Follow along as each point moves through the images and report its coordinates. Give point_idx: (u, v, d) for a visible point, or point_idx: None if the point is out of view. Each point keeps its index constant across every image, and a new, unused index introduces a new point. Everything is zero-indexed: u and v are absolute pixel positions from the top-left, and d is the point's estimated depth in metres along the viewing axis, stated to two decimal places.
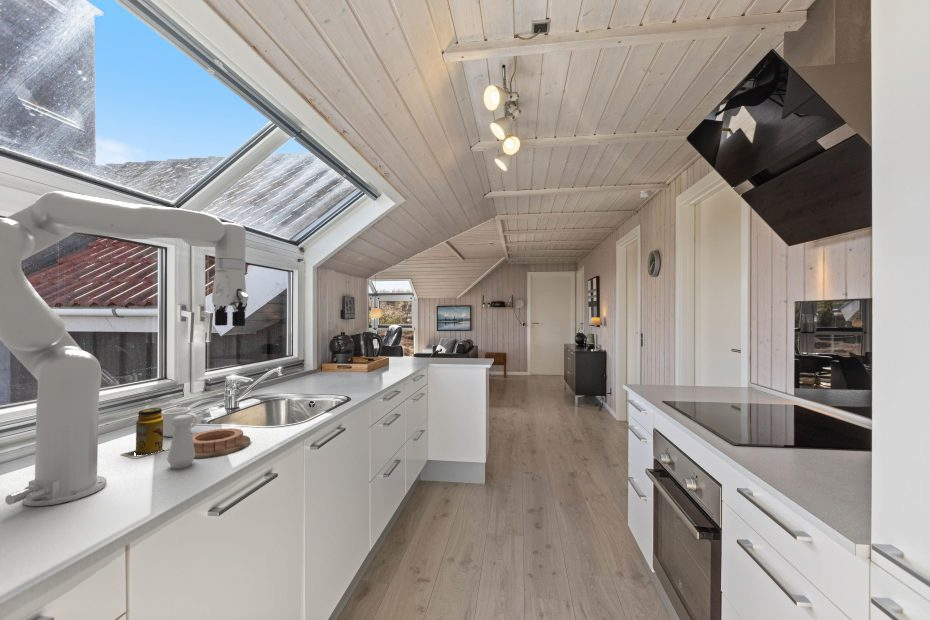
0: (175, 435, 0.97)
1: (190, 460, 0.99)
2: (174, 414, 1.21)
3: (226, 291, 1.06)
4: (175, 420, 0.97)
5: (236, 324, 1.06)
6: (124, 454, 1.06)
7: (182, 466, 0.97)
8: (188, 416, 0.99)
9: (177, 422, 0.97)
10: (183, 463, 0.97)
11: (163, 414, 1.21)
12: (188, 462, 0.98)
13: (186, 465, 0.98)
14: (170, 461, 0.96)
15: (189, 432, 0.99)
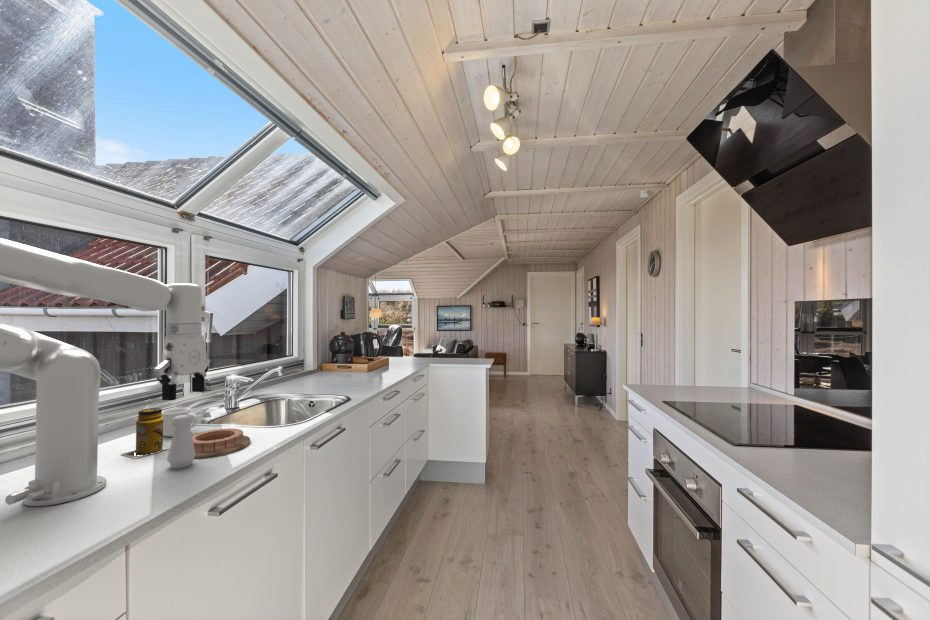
0: (175, 435, 0.97)
1: (190, 460, 0.99)
2: (174, 414, 1.21)
3: (204, 357, 1.03)
4: (175, 420, 0.97)
5: None
6: (124, 454, 1.06)
7: (182, 466, 0.97)
8: (188, 416, 0.99)
9: (177, 422, 0.97)
10: (183, 463, 0.97)
11: (163, 414, 1.21)
12: (188, 462, 0.98)
13: (186, 465, 0.98)
14: (170, 461, 0.96)
15: (189, 432, 0.99)
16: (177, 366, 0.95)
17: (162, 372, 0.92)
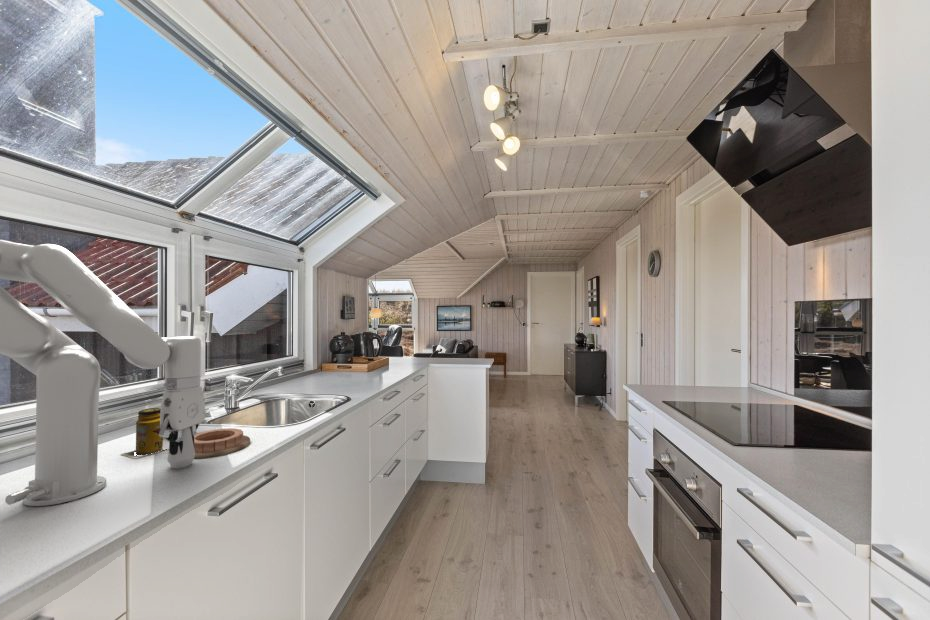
0: None
1: (190, 460, 0.99)
2: None
3: (202, 408, 1.03)
4: None
5: None
6: (124, 454, 1.06)
7: (182, 466, 0.97)
8: None
9: None
10: (183, 463, 0.97)
11: None
12: (188, 462, 0.98)
13: (186, 465, 0.98)
14: (170, 461, 0.96)
15: (189, 432, 0.99)
16: (175, 422, 0.94)
17: (168, 434, 0.94)
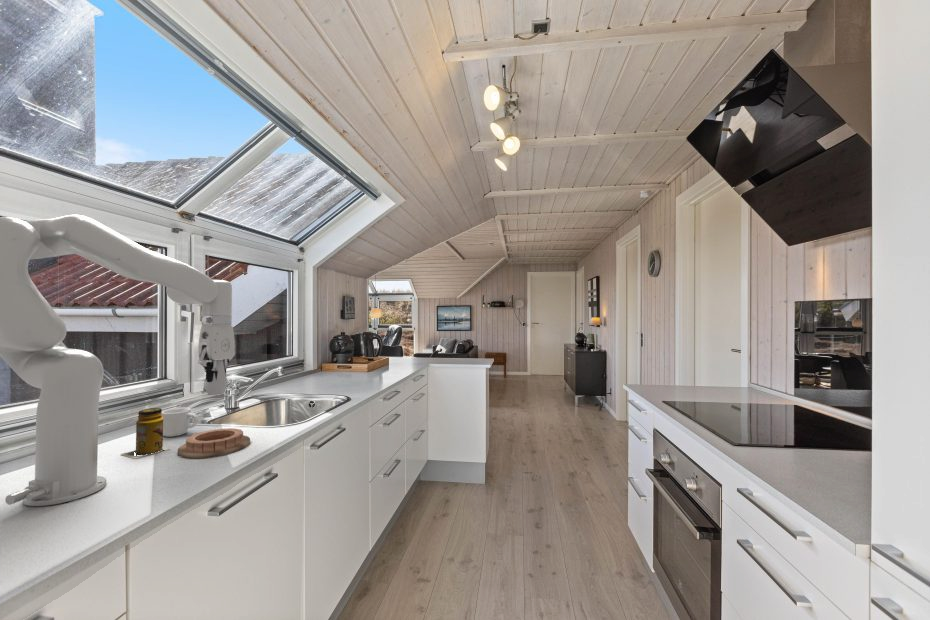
0: None
1: (223, 388, 1.13)
2: (174, 414, 1.21)
3: (233, 345, 1.17)
4: None
5: None
6: (124, 454, 1.06)
7: (217, 393, 1.11)
8: None
9: None
10: (218, 390, 1.11)
11: (163, 414, 1.21)
12: (222, 390, 1.12)
13: (220, 392, 1.12)
14: (207, 388, 1.10)
15: (222, 364, 1.13)
16: (211, 352, 1.08)
17: (205, 362, 1.08)
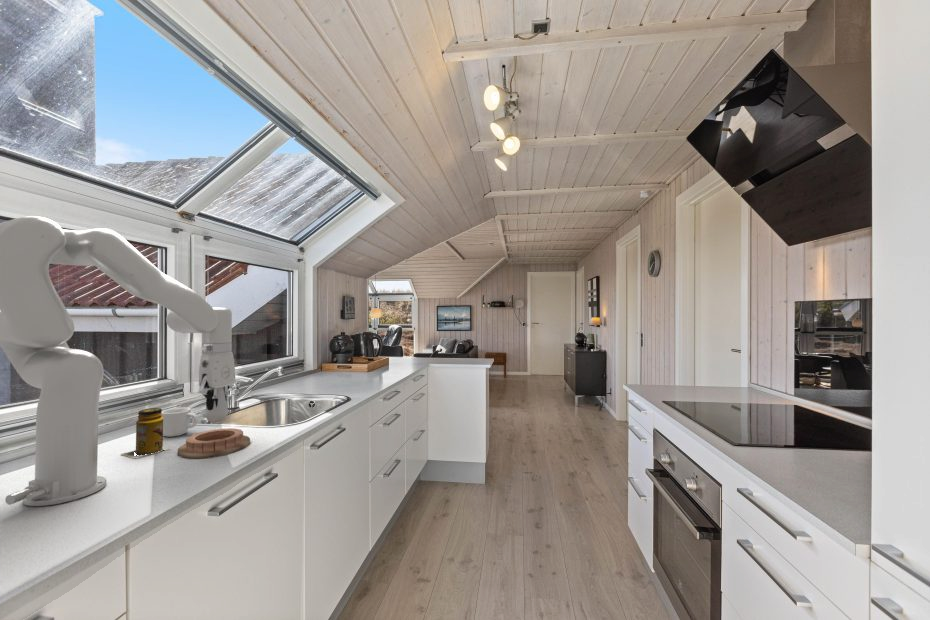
0: None
1: (224, 415, 1.13)
2: (174, 414, 1.21)
3: (233, 372, 1.17)
4: None
5: None
6: (124, 454, 1.06)
7: (217, 420, 1.12)
8: None
9: None
10: (218, 418, 1.11)
11: (163, 414, 1.21)
12: (222, 417, 1.12)
13: (220, 420, 1.12)
14: (207, 416, 1.10)
15: (222, 391, 1.14)
16: (212, 381, 1.08)
17: (206, 391, 1.08)
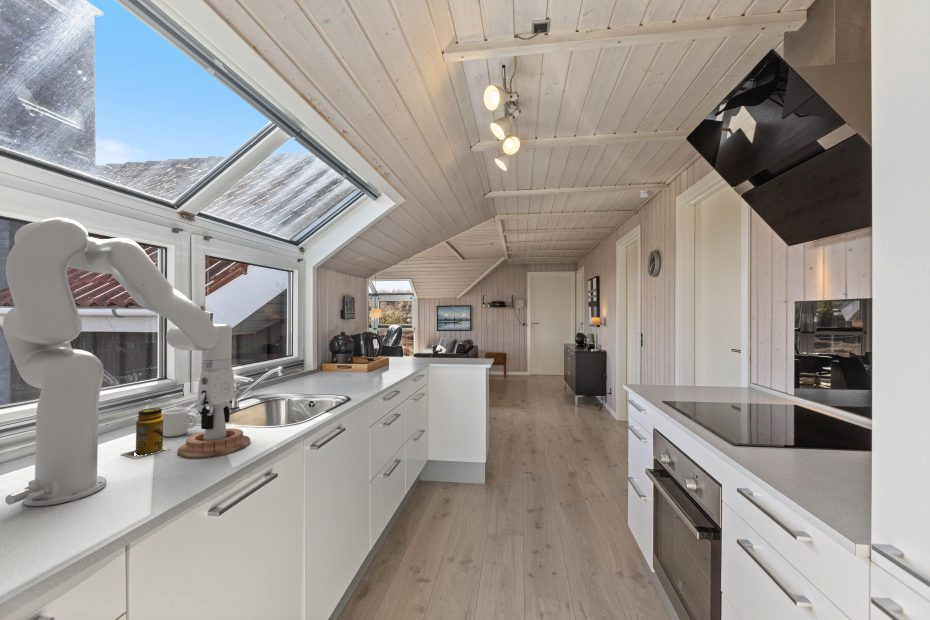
0: None
1: None
2: (174, 414, 1.21)
3: (232, 388, 1.17)
4: None
5: None
6: (124, 454, 1.06)
7: None
8: None
9: None
10: None
11: (163, 414, 1.21)
12: None
13: None
14: (206, 439, 1.10)
15: (222, 415, 1.13)
16: (211, 398, 1.08)
17: (202, 407, 1.07)
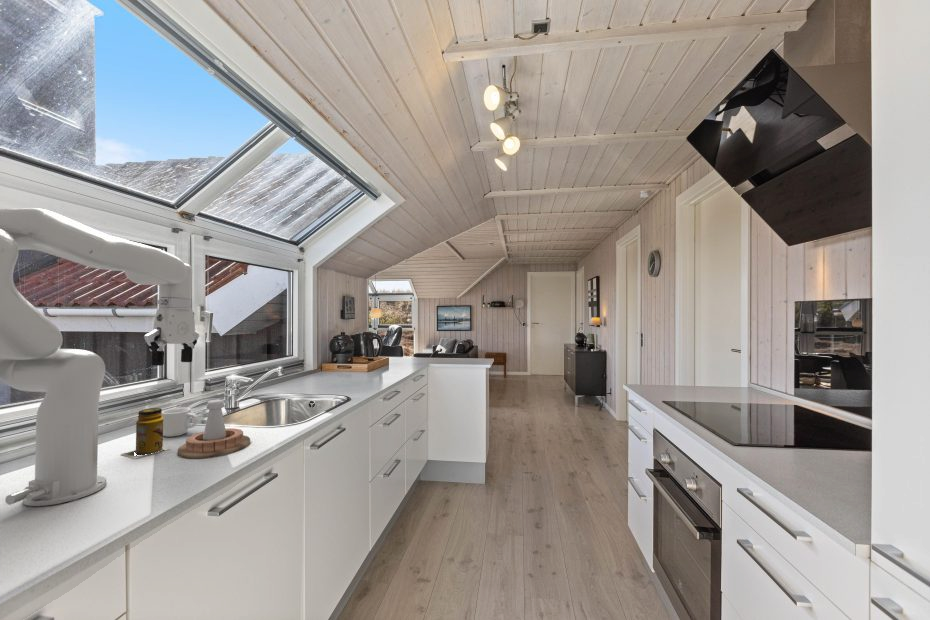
0: (209, 417, 1.11)
1: None
2: (174, 414, 1.21)
3: (192, 330, 1.14)
4: (209, 404, 1.11)
5: None
6: (124, 454, 1.06)
7: None
8: (220, 400, 1.13)
9: (211, 405, 1.11)
10: None
11: (163, 414, 1.21)
12: None
13: None
14: (205, 440, 1.10)
15: (221, 414, 1.13)
16: (165, 335, 1.05)
17: (151, 339, 1.03)
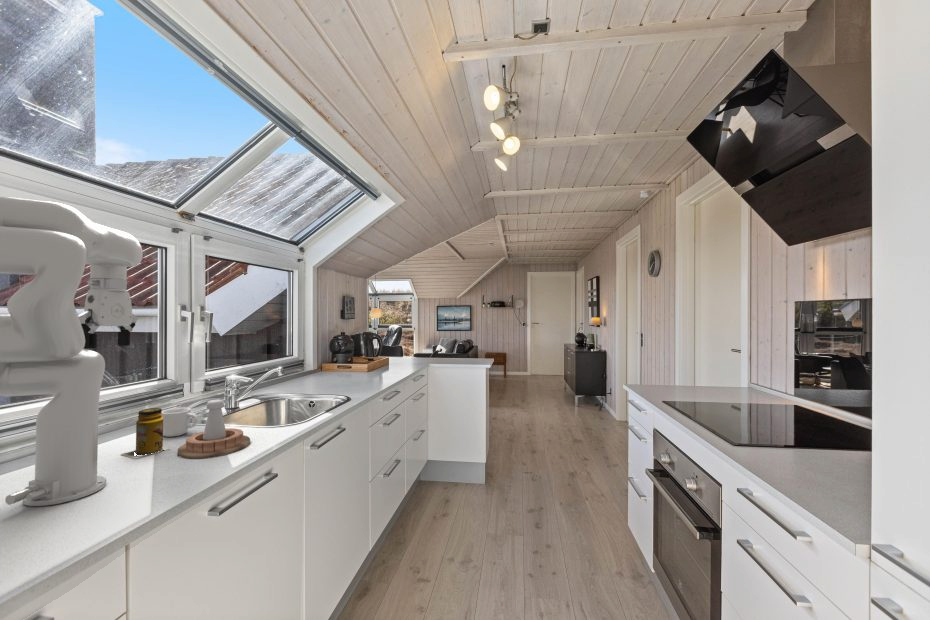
0: (209, 417, 1.11)
1: None
2: (174, 414, 1.21)
3: (129, 312, 1.10)
4: (209, 404, 1.11)
5: None
6: (124, 454, 1.06)
7: None
8: (220, 400, 1.13)
9: (211, 405, 1.11)
10: None
11: (163, 414, 1.21)
12: None
13: None
14: (205, 440, 1.10)
15: (221, 414, 1.13)
16: (97, 317, 1.02)
17: (81, 321, 0.99)
